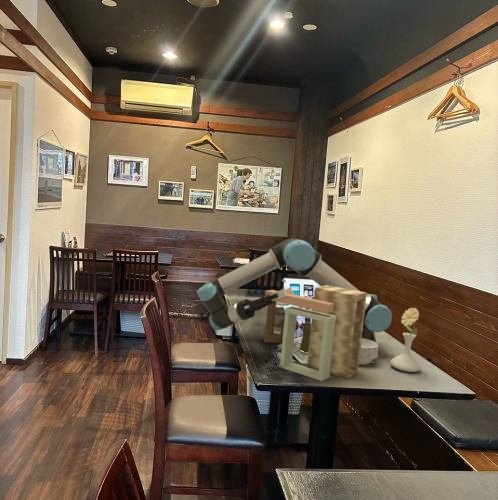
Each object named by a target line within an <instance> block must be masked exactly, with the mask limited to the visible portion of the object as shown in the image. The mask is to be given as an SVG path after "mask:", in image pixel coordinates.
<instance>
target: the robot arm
mask: <svg viewBox="0 0 498 500" xmlns="http://www.w3.org/2000/svg"><path fill="white" fill-rule="evenodd" d="M284 267H289V268H290V269H292V270H294V271H295V272H296V273H297V274H299V275H300V276H301V277H303V278H305V277H308V278H309V279H311V280H312V281H314V283H316V284H317V285H319V287H320V286H325V285H329V286H334V287H339V288H344V289H350V290H355V291H360V289H358V288H357V287H355V286H354V285H353V284H352V283H350V282H349V281H348V280H347V279H345V277H343V276H342V275H340V274H339V273H338V272H337V271H336V270H335V269H333V268H332V267H331V266H329V265H328V264H327V263H326V262H325V261H323V259H322V254H320V252H318V251H317V250H316V249H314V248H313V247H312V245H311V244H310V243H309V242H307V241H305V240H303V239H299V238H296V237H295V238H294V237H291V238H288V239H285V240H283V241H281V242H280V243H277V245H275V246H273V247H271V248H269V251H268V252H267V253H265V254H262V255H261V256H259V257H257V258H255V259H253V260H251V261H249V262H247V263H246V264H244V265H243V264H242V266H239V267H237V268H236V269H234V270H232V271H230V272H228V273H225V274H224V275H221V276H220V277H218V278H216V279H214V280H212V281H208V282H205V284H203V285H202V286H201V287H200V288H198V290H197V291H196V294H197V296H198V298H199V299H200V301H201V302H202V304H203V305H204V306H205V308H206V310H207V311H208V312H209V314H210V315H209V317H208V320H209V321H208V322H209V325H210V326H211V328H212V329H214V330H215V331H221V330H223V329H227V328H229V327H231V326H234V325H236V324H238V325H240V324H242V322H244V321H246V320H249V319H252V318H253V317H254V316H255V315H256V312H259V311H260V310H261V309H263V308H266V307H268V305H270V304H272V303H275V302H277V301H275V300H278V299H280V298H283V297H285V296H287V293H288V294H293V295H295V293H294V291H293V287H288V288H282V289H280V290H276V291H277V292H275V293H272V294H270V295H267V296H266V297H265V295H263V296H262V297H260V298H259V297H258V298H257V299H254V300H250V299H243V300H240V301H239V302H236V303H233V304H231V305H229V306H228V305H227V304H226V301H225V300H224V298H223V296H225V295H227V294H228V293H231V292H233V291H235V290H236V289H238V288H240V287H242V286H244V285H247V284H248V283H250V282H252V281H253V280H256V279H258V278H260V277H261V276H263V275H266V274H268V273H270V272H271V271H274V270H275V269H279V270H280V269H283V268H284ZM392 320H393V314H392V311H391V309H389V308H388V306H386V305H385V304H382V303H381V302H380V301H379V300H378V296H377V294H370V293H367V296H366V305H365V313H364V322H363V331H362V338H364V339H368V340H371V341H374V342H376V343H377V339H376V334H375V333H381V332H383V331H386V330H387V329H388V328H389V327H390V325H391V323H392Z"/></svg>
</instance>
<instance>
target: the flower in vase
mask: <svg viewBox="0 0 498 500" xmlns="http://www.w3.org/2000/svg"><path fill="white" fill-rule="evenodd" d="M419 316H420V313H419V310H418V309H417V308H416V307H414V308H413V307H410V308H408V309H407V310H404V313H403V314H402V316H401V320H400V322H401V324H403V327H406V329H407V330H408V331H409V332H410V333H409V332H403V333H402V335H403V339H404V349H403V352H402V353H400V354H398V355H397V356H395V357H393V358H392V359H391V360H390V365H391V366H392V367H393V368H394V369H397V370H400V371H403V372H410V373H413V372H419V371H420V370H421V369H422V366H421V364H420V363H419V361H418V360H417V359H416V358H415V357H414V356H413V355H412V353H411V352H412V351H411V349H412V343H413V341H414V339H415V338H416V337H417V336H418V328H415V323H416V321H418V320H419ZM412 325H413V328H411V327H410V326H412Z"/></svg>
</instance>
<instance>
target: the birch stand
mask: <svg viewBox="0 0 498 500" xmlns="http://www.w3.org/2000/svg"><path fill="white" fill-rule="evenodd" d="M367 294H368V292H365V291H360V290H359V291H355V290H350V289H344V288H339V287H334V286H329V285H325V286H320V285H319V286H316V287H314V295H313V299H316V300H321V301H325V302H330V303H334V307H333V312H331V313H325V314H329V315H334V316H337V317H336V321H335V329H334V338H333V347H332V356H331V366H330V376H331V375H332V376H334V377H338V378H342V379H344V380H348V379H349V378H352V377H353V376H354V375H356V374H357V373H358V372H359V366H360V364H359V357H360V348H361V339H362V331H363V322H364V313H365V305H366V296H367ZM312 311H316V310H312ZM316 312H320V311H316ZM321 313H324V312H321ZM310 320H311V323H310V325H311V330H310V340H309V349H308V353H307V360H306V361H307V362H306V367H308V368H311V369H314V370H317V371H319V363H320V354H321V344H322V335H323V326H324V322H322V321H318V320H314V319H310Z"/></svg>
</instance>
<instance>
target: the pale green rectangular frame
mask: <svg viewBox="0 0 498 500" xmlns="http://www.w3.org/2000/svg"><path fill="white" fill-rule="evenodd" d="M284 310H285V320H284V330H283V340H282V344H281V353H280V362H279V365H278V367H279V368H280V369H284V370H287V371H290V372H293V373H296V374H299V375H302V376H305V377H308V378H310V379H314V380H318V381H321V382H323V381H326V380H327V379H329V378H330V377H331V374H330V366H331V356H332V347H333V338H334V329H335V321H336V317H337V316H334V315H329V314H325V313H321V312H316V311H313V310H311V309H307V308H303V307H298V306H294V305H291V306H289V307H284ZM297 316H299V317H301V318H307V319H310V320H312V319H314V320H318V321H322V322H324V326H323V335H322V344H321V354H320V363H319V370H316V369H312V368H309V367H307V366H304V365H301V364H297V363H295V362H293V356H294V346H295V335H296V327H297Z"/></svg>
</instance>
